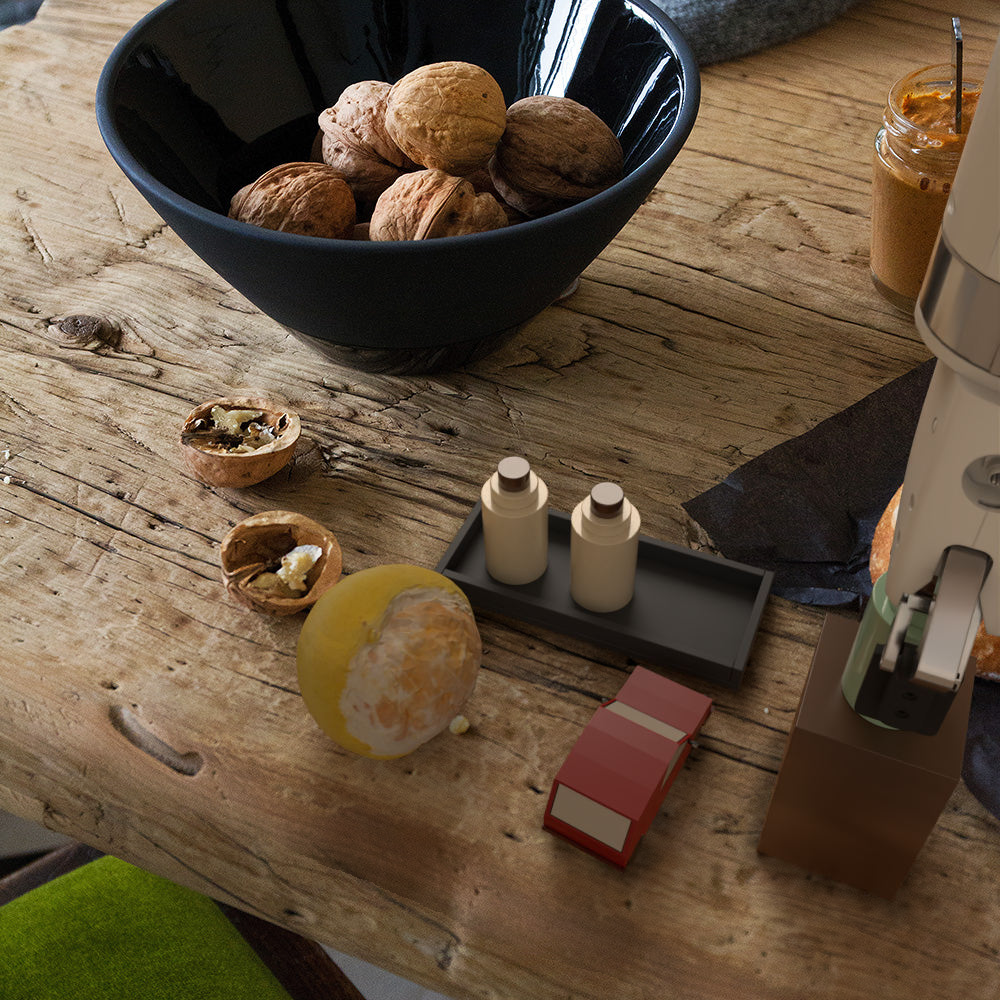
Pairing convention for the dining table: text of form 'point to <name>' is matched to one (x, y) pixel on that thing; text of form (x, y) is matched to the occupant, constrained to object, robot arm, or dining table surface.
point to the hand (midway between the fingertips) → (910, 636)
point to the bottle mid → (604, 549)
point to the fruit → (388, 659)
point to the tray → (631, 601)
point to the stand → (859, 779)
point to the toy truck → (625, 767)
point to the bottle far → (515, 523)
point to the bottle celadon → (877, 638)
